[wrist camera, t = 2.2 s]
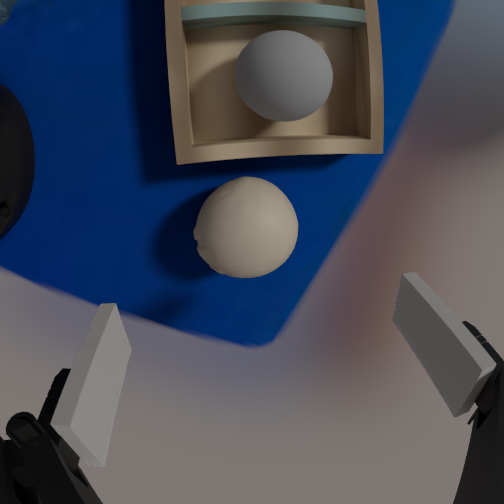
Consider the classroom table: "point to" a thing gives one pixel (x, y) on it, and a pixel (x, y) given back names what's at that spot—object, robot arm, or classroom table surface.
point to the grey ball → (283, 75)
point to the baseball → (246, 228)
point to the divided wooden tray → (231, 104)
